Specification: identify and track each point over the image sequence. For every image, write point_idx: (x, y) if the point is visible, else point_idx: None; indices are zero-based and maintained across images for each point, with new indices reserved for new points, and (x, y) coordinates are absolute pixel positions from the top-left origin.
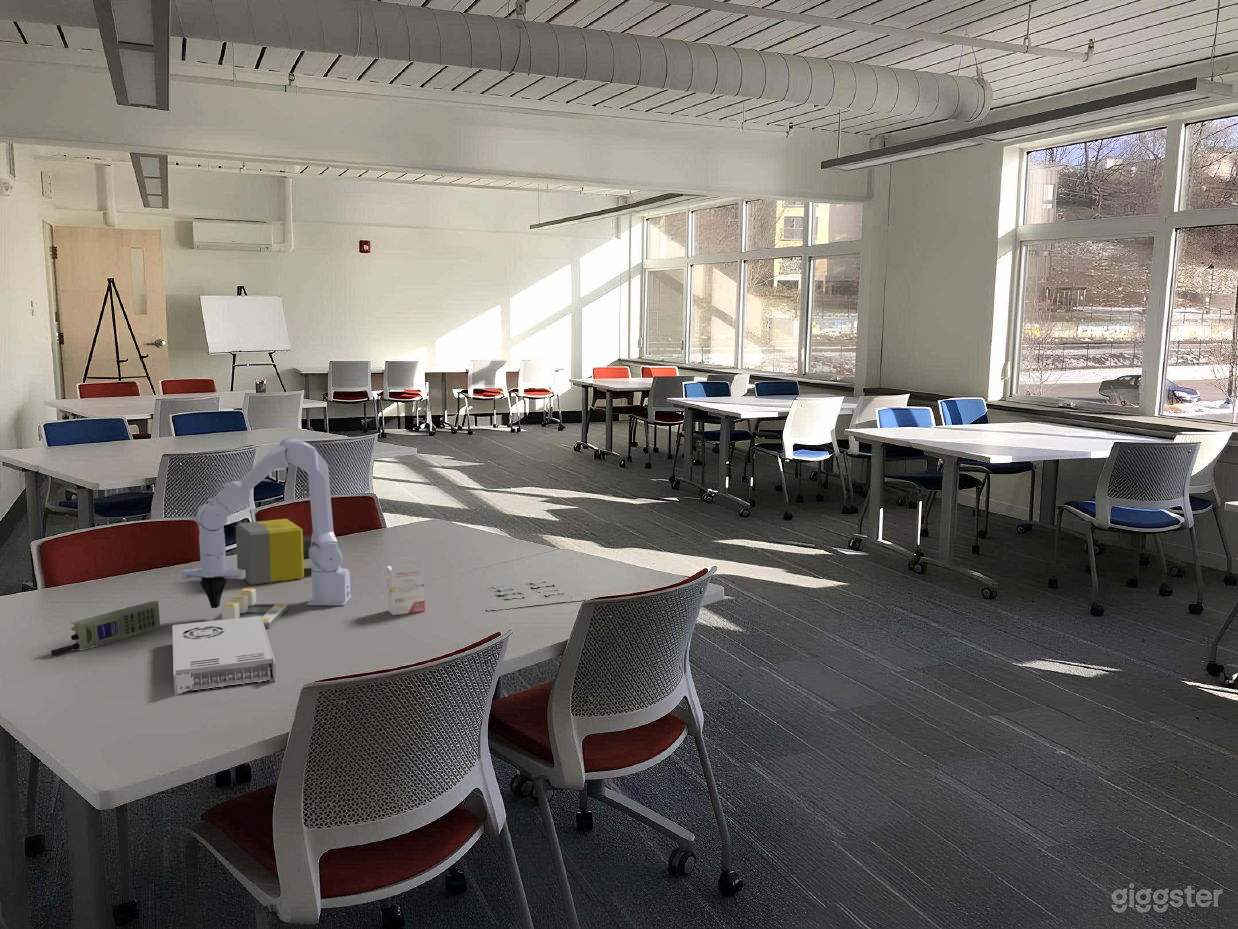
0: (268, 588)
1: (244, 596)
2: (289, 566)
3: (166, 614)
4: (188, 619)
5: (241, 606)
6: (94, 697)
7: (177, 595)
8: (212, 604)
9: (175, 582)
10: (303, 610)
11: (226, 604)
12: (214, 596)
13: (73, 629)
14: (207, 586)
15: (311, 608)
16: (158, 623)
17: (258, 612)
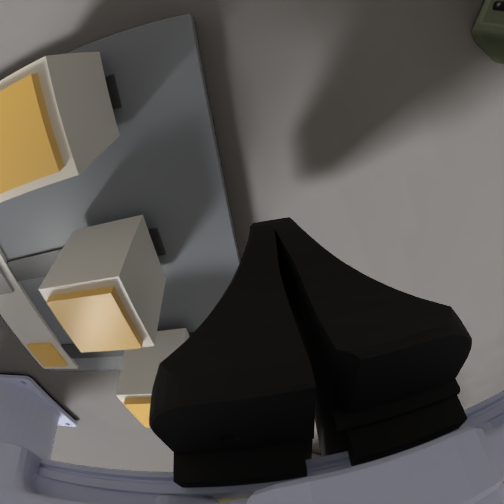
0: None
1: (64, 328)
2: (231, 500)
3: (490, 222)
4: (400, 164)
5: (70, 252)
6: None
7: (463, 367)
8: (281, 227)
9: (463, 407)
10: (3, 342)
11: (15, 97)
12: (264, 266)
13: None
14: (357, 320)
15: (4, 357)
16: (489, 26)
17: (43, 270)
